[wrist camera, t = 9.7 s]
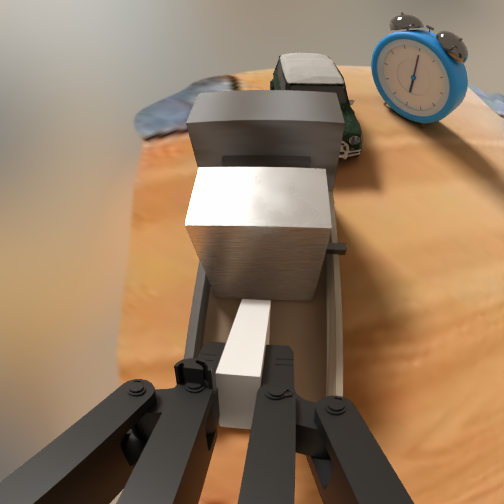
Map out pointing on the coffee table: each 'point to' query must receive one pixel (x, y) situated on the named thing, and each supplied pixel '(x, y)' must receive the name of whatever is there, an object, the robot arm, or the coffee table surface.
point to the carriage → (261, 230)
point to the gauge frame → (276, 155)
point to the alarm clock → (420, 70)
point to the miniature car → (319, 90)
